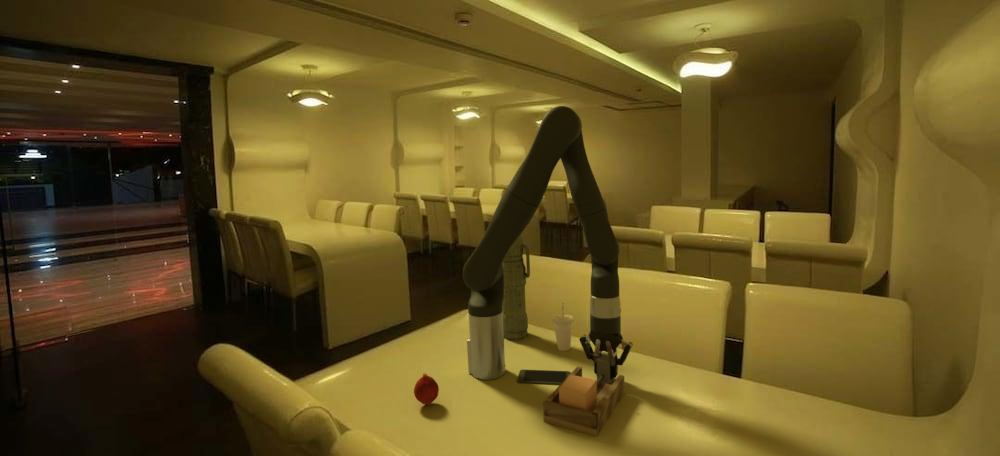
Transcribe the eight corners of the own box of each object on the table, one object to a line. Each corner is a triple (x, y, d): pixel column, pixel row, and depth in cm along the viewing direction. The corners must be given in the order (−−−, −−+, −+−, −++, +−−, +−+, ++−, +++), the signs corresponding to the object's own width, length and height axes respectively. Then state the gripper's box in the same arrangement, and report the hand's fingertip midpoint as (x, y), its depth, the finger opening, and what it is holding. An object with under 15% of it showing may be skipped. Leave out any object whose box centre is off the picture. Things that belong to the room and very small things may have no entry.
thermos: (500, 329, 158) (495, 229, 153) (534, 331, 155) (530, 228, 150) (494, 339, 149) (489, 233, 144) (529, 341, 146) (526, 233, 142)
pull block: (585, 425, 97) (585, 394, 96) (559, 418, 100) (559, 387, 99) (620, 377, 118) (620, 350, 117) (597, 372, 121) (597, 346, 120)
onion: (443, 400, 112) (441, 369, 110) (432, 412, 106) (430, 380, 105) (422, 397, 113) (420, 366, 112) (410, 409, 108) (408, 377, 107)
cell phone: (520, 371, 126) (520, 369, 126) (571, 373, 123) (571, 371, 123) (516, 384, 119) (516, 381, 119) (570, 386, 116) (570, 384, 116)
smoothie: (573, 344, 142) (572, 300, 140) (575, 352, 136) (574, 307, 134) (553, 344, 143) (551, 300, 141) (553, 352, 137) (552, 307, 135)
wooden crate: (596, 436, 94) (596, 416, 94) (543, 421, 100) (543, 402, 100) (624, 393, 111) (624, 375, 110) (577, 383, 117) (577, 366, 117)
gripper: (573, 312, 116) (574, 377, 118) (628, 320, 108) (629, 389, 111) (584, 304, 122) (585, 366, 124) (637, 311, 115) (637, 376, 117)
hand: (606, 376), depth 118 cm, fingers closed on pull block, 3 cm apart
